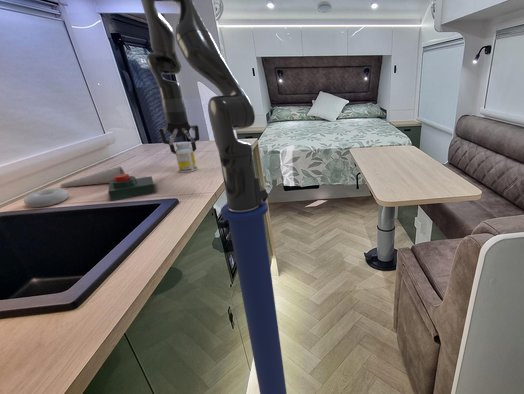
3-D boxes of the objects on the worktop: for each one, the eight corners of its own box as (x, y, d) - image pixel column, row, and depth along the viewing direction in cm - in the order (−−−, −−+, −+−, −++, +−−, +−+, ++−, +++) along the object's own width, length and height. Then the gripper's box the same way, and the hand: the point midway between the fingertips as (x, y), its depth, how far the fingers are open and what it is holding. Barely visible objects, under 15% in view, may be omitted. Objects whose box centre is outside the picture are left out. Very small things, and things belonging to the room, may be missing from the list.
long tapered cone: (49, 181, 97) (117, 167, 104) (57, 177, 103) (121, 165, 110) (57, 196, 99) (123, 182, 106) (65, 192, 104) (127, 179, 112)
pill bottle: (194, 167, 126) (189, 140, 122) (198, 170, 121) (193, 143, 117) (178, 170, 122) (171, 142, 118) (181, 173, 118) (174, 145, 113)
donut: (33, 212, 85) (75, 199, 93) (27, 201, 83) (71, 189, 91) (21, 204, 89) (63, 193, 97) (16, 194, 88) (59, 184, 96)
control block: (153, 184, 106) (150, 171, 104) (155, 192, 98) (151, 178, 96) (112, 191, 99) (108, 177, 98) (111, 200, 92) (106, 186, 90)
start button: (130, 177, 99) (128, 172, 98) (130, 181, 96) (128, 176, 95) (115, 180, 96) (113, 175, 96) (115, 183, 93) (113, 178, 93)
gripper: (193, 108, 119) (201, 148, 125) (152, 110, 111) (163, 153, 118) (196, 109, 113) (205, 151, 120) (153, 112, 106) (164, 156, 112)
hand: (184, 152), depth 119 cm, fingers closed on pill bottle, 6 cm apart
